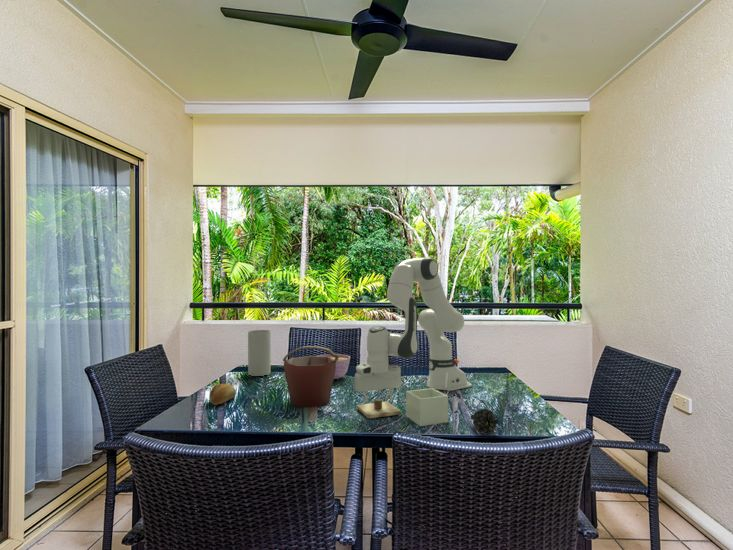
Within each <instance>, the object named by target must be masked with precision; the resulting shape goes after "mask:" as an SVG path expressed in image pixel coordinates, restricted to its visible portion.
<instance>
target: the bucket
mask: <svg viewBox="0 0 733 550" xmlns="http://www.w3.org/2000/svg"><path fill="white" fill-rule="evenodd" d="M303 349H315V350H321V351H325V352H327V354H330V355H331V356H335V359H334V360H333V359H332V358H331V357H321V356H319V355H306V356H299V357H290V355H292V354H293V353H295V352H297V351H300V350H303ZM336 354H337V353H334V352H333V351H332V350H331V349H330V348H327V347H323V346H317V345H305V346H301V347H298V348H295V349H293V350H292V351H289V352H288V353H287V354H286V355H285V356H284V357H283V358H282V361H283V371H284V378H285V380H286V386H287V390H288V396H289V400H290V404H291V405H292V406H295V407H298V408H300V409H303V408H304V409H306V408H308V409H309V408H310V409H311V408H320V407H324V406H325V405H327V404H330V401H331V395H332V389H333V384H334V381H335V380H334V374H335V369H336V362H337V360H338V358H339V357H338V356H337V355H336ZM288 357H290V358H289V359H287V358H288Z"/></svg>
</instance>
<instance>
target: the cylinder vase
mask: <svg viewBox="0 0 733 550" xmlns="http://www.w3.org/2000/svg"><path fill="white" fill-rule="evenodd" d="M271 356H272V355H271V330H268V329H255V330H249V331H247V370H248V372H247V374H248V376H249V375H251V376H263V377H265V376H264V375H267V376H270V374H272V373H271V367H272V366H271V365H272V364H271ZM251 376H250V377H251Z"/></svg>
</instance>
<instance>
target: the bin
mask: <svg viewBox="0 0 733 550" xmlns="http://www.w3.org/2000/svg"><path fill="white" fill-rule="evenodd" d="M405 413H406V414H405V415H406V417H407V418H408V419H410V420H411V421H413V422H414V424H416V425H418V426H419V427H424V426H431V425H438V424H444V423H445V424H446V423H449V395H447V394H445V393H443V392H441V391H439V390H438V389H433V388H430V387H428V388H422V389H413V390H406V391H405Z"/></svg>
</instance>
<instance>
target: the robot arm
mask: <svg viewBox="0 0 733 550" xmlns="http://www.w3.org/2000/svg"><path fill="white" fill-rule="evenodd" d="M438 272H439V265H438V263H437V261H436V260H435V259H434V258H432V257H429V256H428V257H426V256H425V257H413V258H409V259H402V260H399V261H398V262H395V265H394V266H393V270H392V274H391V276H390V279H389V282H388V286H387V292H386V297H387V299H388V301H389V303H390V304H392V305H393V306H394V307H396V308H397V309H399V310H401V311H402V312H403V311H404V315H405V319H404V320H405V321H404V322H405V323H404V332H403V333H396V332H390V331H388V330H387V327H385V326H383V325H382V326H379V325H378V326H373V327H370V328H369V329H368V331H367V336H366V350H367V357H366V361H365V362H363V363H361V364H358V365H356V366H355V370H356V372H355V374H354V378H353V389H354V390H355V392H357V393H361V392H362V395H363V396H364V401H365V403H368V402H371V400H370V399H371V398H370V396H368V395H367V394H368V392H370V391H371V392H372V391H380V390H388V393H386V395H385V398H386V399H387V400H391V399H392V394H393V393H394V389H397V388H401V386H402V383H403V382H402V377H401V373H402V367H401V366H400V365H398V364H393V365H392V364H391V365H390V364H389V356H391V357H398V358H403V359H407V360H409V359H412V358H413V357H414V356H415V355H416V353H417V352H418V347H419V343H418V324H419V326H420V327H421V328H422V330H424V332H425V335H426V337H427V339H428V340H427V341H428V343H429V358H428V359H429V360H428V369H429V372H428V373H429V374H428V380H427V384H426V386H427V388H433V389H435V390H443V391H448V392H450V391H456V390H461V389H465V388H471V387H472V383H471V382H469V381H468V379H467V375H466V373H465V372H464V371H463V370H461V369H460V368H459V367H458V366H457V365H456V364H459V363H460V360H459V359H456V358H453V344H452V342H451V341H450V340H449V339H448V338H447V337H446V335H445V332H446V333H457V332H460V331H462V329H463V327H464V326H465V318H464V315H463V313H461V312H460V311H459V310H457V309H455V308H454V306H453V305H452V304H451V303H450V301H449V300H448V298H447V296H446V293H445V290H444V287H443V284H442V280H441V277H440V275H439V273H438ZM415 282H417V283H418V288H419V291H420V294H421V298H422V301H423V303H424V304H425V306H427V307H428V309H423V310H422V311H420V313H419V315H418V304H417V300H415V298H413V292H414V291H413V289H414V283H415Z"/></svg>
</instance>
